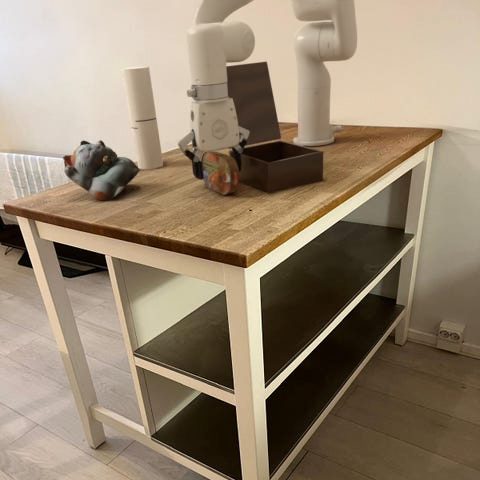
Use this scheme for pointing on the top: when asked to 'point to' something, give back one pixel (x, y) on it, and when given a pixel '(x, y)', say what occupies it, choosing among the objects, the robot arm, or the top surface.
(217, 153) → the tin
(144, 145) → the cylindrical container
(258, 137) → the lid
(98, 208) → the top surface
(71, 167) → the lucky cat figurine
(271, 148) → the chest
